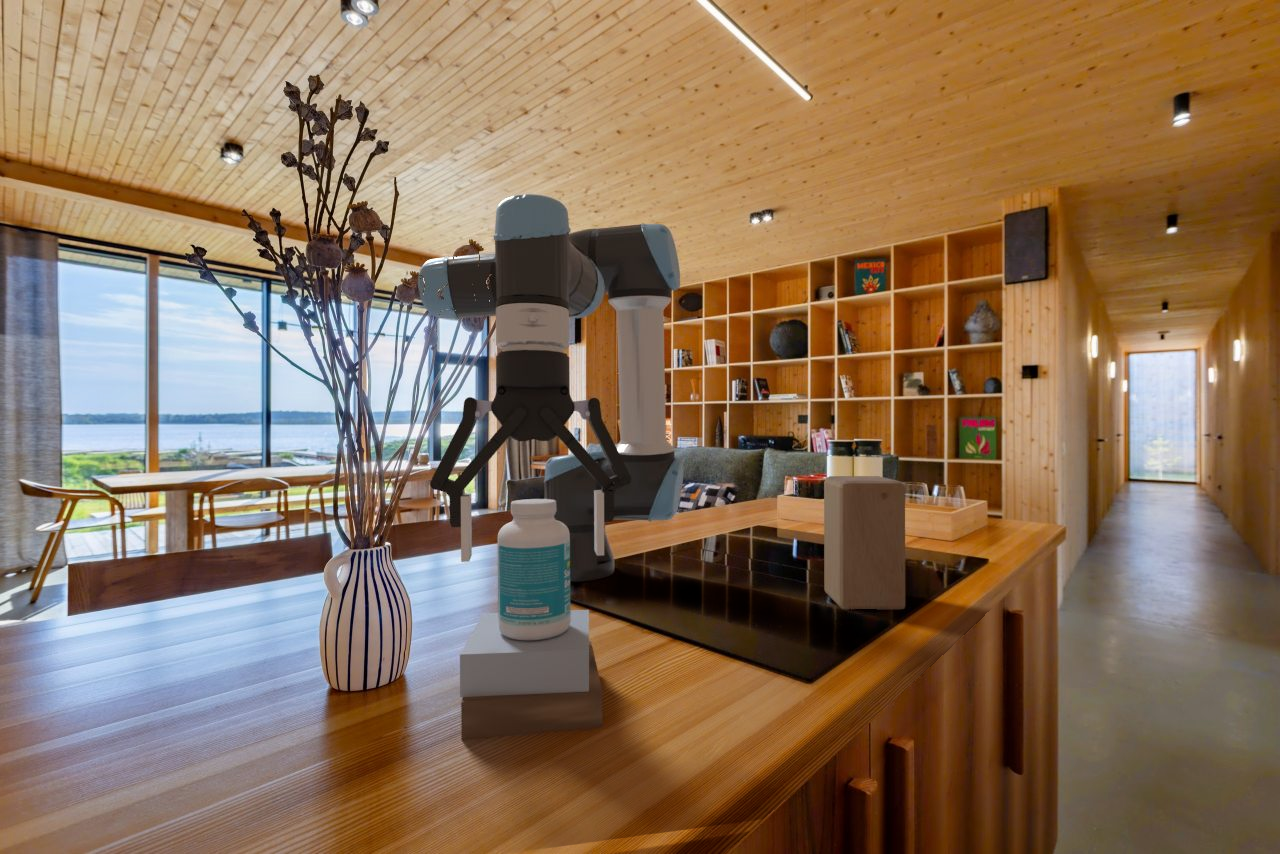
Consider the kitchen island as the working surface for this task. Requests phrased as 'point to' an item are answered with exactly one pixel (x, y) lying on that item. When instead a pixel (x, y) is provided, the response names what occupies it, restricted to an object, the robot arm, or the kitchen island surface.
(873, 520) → the wooden block
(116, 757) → the kitchen island surface
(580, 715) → the tower base
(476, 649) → the tower top
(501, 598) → the pill bottle
